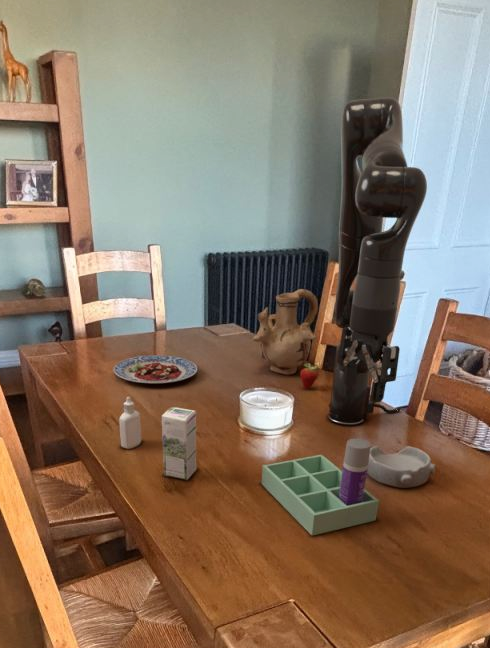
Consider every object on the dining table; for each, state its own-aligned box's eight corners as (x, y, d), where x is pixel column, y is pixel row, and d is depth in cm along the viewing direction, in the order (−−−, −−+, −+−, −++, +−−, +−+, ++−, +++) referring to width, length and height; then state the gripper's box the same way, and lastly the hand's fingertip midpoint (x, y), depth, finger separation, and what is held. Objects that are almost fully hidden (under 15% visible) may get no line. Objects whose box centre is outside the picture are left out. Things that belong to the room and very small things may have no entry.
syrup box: (197, 469, 138) (197, 409, 130) (186, 481, 133) (185, 419, 125) (174, 465, 139) (172, 405, 132) (163, 476, 134) (160, 415, 127)
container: (360, 518, 120) (371, 450, 113) (336, 515, 121) (345, 447, 113) (361, 506, 124) (371, 439, 116) (338, 503, 125) (346, 436, 117)
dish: (353, 466, 141) (356, 447, 139) (403, 457, 146) (406, 438, 143) (390, 496, 130) (394, 475, 127) (442, 485, 135) (447, 465, 132)
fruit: (319, 389, 184) (322, 364, 180) (306, 393, 181) (308, 366, 177) (308, 384, 187) (311, 359, 183) (295, 387, 185) (297, 361, 181)
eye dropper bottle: (146, 445, 147) (143, 398, 141) (124, 450, 145) (120, 402, 138) (138, 438, 150) (136, 392, 144) (117, 443, 148) (113, 396, 142)
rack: (319, 472, 138) (321, 454, 136) (375, 520, 122) (379, 500, 119) (261, 484, 133) (262, 465, 130) (311, 535, 116) (314, 515, 114)
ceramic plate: (213, 372, 194) (213, 363, 193) (162, 396, 176) (162, 386, 174) (150, 356, 206) (150, 348, 204) (96, 377, 187) (95, 367, 185)
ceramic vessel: (261, 359, 207) (265, 282, 194) (317, 364, 204) (325, 286, 191) (250, 376, 192) (253, 294, 179) (310, 383, 189) (318, 299, 176)
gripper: (419, 310, 99) (402, 404, 108) (368, 291, 110) (357, 378, 118) (381, 314, 96) (367, 410, 105) (333, 294, 107) (324, 383, 116)
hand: (362, 393), depth 112 cm, fingers open, 8 cm apart
